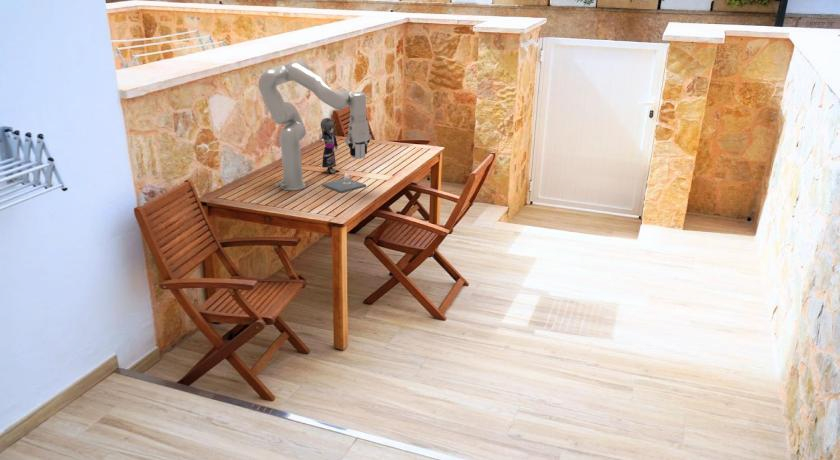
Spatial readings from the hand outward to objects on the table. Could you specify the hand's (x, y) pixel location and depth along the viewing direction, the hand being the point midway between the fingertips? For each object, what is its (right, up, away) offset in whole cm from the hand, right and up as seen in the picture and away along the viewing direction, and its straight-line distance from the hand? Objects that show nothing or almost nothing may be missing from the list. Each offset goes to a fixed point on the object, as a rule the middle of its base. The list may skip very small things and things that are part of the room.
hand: (358, 154), depth 332 cm
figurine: (-20, -7, +35) cm, 41 cm away
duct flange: (-9, -15, +15) cm, 23 cm away
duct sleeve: (0, -1, 0) cm, 1 cm away
